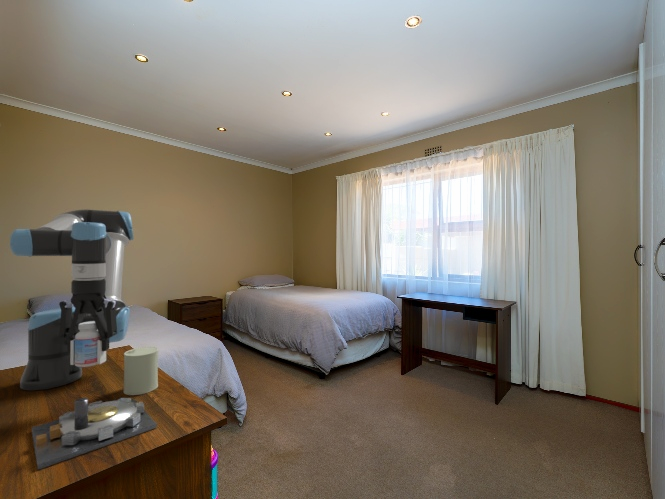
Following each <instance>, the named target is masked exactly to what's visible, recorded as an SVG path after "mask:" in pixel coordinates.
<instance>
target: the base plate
mask: <svg viewBox="0 0 665 499" xmlns="http://www.w3.org/2000/svg"><path fill="white" fill-rule="evenodd" d="M131 402H133V403H138V400H136V398H131ZM149 414H150V413H148V412H147V411H146V410H145V409H144V412H143V413H140V421H139V422H138V423H137V424H136V425H134V426H126V427H124V428H123V429H121V430H119V431H116V432H114V433H113V437H110V438H107V439H104V440H100V441H99V440H98V438H95V439H90V440H83V441H79V442H77V443H76V444H75V445H62V438H61V437H57V438H54V439H51V440H50V426H54V425H57V424H59V419H57V420H54V421H50V422H46V423H43V424H38V425H35V426H32V427H31V435H32V440H33V441H32V442H33V448H34V455H35V459H36V460H35V461H36V467H37V471H39V470H42V469H45V468H47V467H50V466H54V465H55V464H59V463H62V462H64V461H68V460H70V459H73V458H77V457H79V456H81V455H84V454H87V453H90V452H92V451H93V452H94V451H96V450H98V449H100V448H104V447H107V446H109V445H112V444H114V443H119V442H121V441H124V440H126V439H130V438H132V437H135V436H138V435H141V434H143V433H146V432H149V431H152V430H155V429H157V428H158V424H157V422H156V421H155V420H154V418H152V417H151V415H149Z"/></svg>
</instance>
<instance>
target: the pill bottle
mask: <svg viewBox="0 0 665 499" xmlns="http://www.w3.org/2000/svg"><path fill="white" fill-rule="evenodd" d="M78 329H79V330H80V332H78V333H77V334H76V335H75V366H77V367H81V368H87V367H88V368H89V367H93V366H96V365H98V364H97V340H99V339H101V338H100V335H99V332H98V329H97V326H96V323H95V321H90V322H83V323H80V324H79V326H78Z"/></svg>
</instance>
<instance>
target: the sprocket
mask: <svg viewBox="0 0 665 499" xmlns="http://www.w3.org/2000/svg"><path fill="white" fill-rule="evenodd" d="M131 399H132V398H131V397H120V398H119V399H117V400H109V401H105V402H103V400H98V401H95V402H90V403H89V398H88V397H81V398H78V399H76V400H74V410H73V411H71V410H70V411H67V412H65V413H63V414H61V415H60V416H59V417H58V420H59V424H57V425H54V426H50V440H51V439H54V438H57V437H61V438H62V445H75V444H76V443H77V442H79V441H83V440H90V439H95V438H98V440H99V441H100V440H104V439H107V438H110V437H113V433H114V432H116V431H119V430H121V429H123V428H124V427H126V426H134V425H136V424H137V423H138V422H139V421H140V413H143V412H144V410H145V404H144V402H143V401H139V402H138V401H137V402H138V403H133V402H131Z"/></svg>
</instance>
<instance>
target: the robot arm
mask: <svg viewBox="0 0 665 499" xmlns="http://www.w3.org/2000/svg"><path fill="white" fill-rule="evenodd" d="M131 240H132V241H133V240H134V231H133V221H132V215H131V214H130V212H127V211H120V210H114V211H113V210H103V209H102V210H100V209H99V210H98V209H88V208H87V209H76V210H75V209H74V210H71V211H65V212H62V213H60V214H58V215H55V216H54V217H53V218H52V220H51V221H50V222H48V223H45V224H44V225H41V226H39V227H38V228H34V229H32V228H31V229H30V228H17V229H14V230H13V231H12V233H11V234H10V238H9V246H10V250H11V252H12V254H13V255H15V256H17V257H30V258H31V257H71V278H72V279H73V280H72V281H71V283H70V284H71V288H70V289H71V294H72V296H71V298H70V299H68V300H67V299H66V300H63V301H60V302H59V304H58V305H59V307H58V308H52V309H51V308H50V309H47V310H44V311H40V312H36V313H34V314H32V315H31V316H30V317H29V320H28V328H27V331H28V332H27V333H28V339H27V340H28V341H27V342H28V345H27V346H28V349H27V350H28V352H27V354H28V355H27V357H28V358H27V363H26V366H25V367H24V370H23V373H22V375H21V378H20V383H19V387H20V390H23V391H43V390H48V389H53V388H57V387H62V386H65V385H67V384H72V383H73V382H75V381H77V380H79V379H81V378H82V375H83V369H82V368H83V367H77V366H75V335H76V334H77V333H78V332H80V330H79V329H78V326H79V324H80V323H83V322H90V321H95V323H96V326H97V329H98V332H99V335H100V338H101V339H99V340H97V365H102V364H104V363H105V362H107V351H108V350H109V349H110V343H117V342H121V341H123V340H124V339H125V337H126V335H127V332H128V328H129V322H130V317H131V314H130V313H131V309H130V308H129V307H127V306H126V303H125V301H123V300H122V288H123V287H122V286H123V272H124V255H125V247H126V246H128V245H129V243H130V241H131Z"/></svg>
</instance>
